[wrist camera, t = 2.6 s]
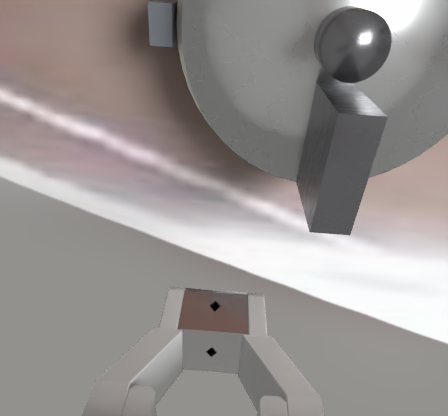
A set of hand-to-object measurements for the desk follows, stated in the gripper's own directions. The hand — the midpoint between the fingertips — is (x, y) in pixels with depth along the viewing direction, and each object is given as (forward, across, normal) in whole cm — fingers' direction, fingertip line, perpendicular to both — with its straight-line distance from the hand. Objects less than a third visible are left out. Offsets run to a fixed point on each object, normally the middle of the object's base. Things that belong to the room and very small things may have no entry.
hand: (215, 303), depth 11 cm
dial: (+13, -5, -7) cm, 15 cm away
